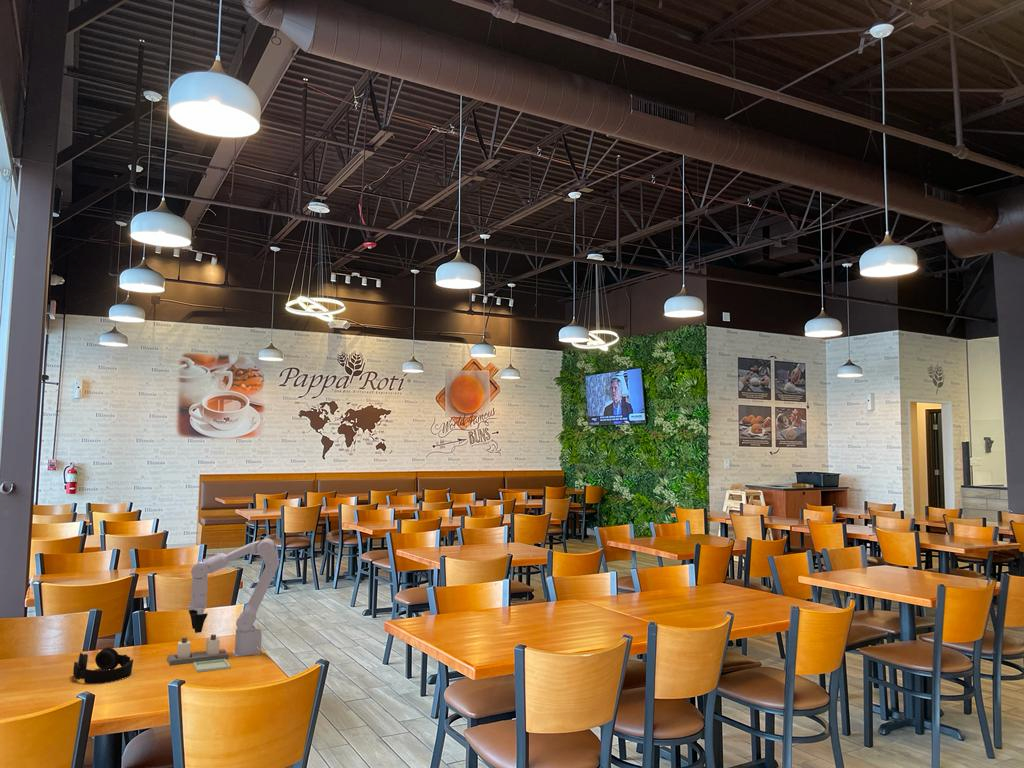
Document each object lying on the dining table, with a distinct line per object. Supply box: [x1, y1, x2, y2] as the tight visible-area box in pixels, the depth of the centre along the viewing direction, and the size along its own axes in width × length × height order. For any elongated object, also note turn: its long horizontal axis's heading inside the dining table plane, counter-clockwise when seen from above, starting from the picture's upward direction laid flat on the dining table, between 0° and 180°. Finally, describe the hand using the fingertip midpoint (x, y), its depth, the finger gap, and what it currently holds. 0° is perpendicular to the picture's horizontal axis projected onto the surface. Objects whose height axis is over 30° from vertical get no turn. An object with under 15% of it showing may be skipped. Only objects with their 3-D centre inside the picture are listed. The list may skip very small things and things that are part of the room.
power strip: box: [167, 634, 229, 666], centre depth 277 cm, size 20×9×9 cm, turn 120°
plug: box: [176, 637, 192, 659], centre depth 275 cm, size 4×4×9 cm
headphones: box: [72, 647, 134, 685], centre depth 256 cm, size 18×8×20 cm
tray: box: [192, 659, 232, 673], centre depth 267 cm, size 11×11×1 cm
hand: (196, 630), depth 284 cm, fingers open, 7 cm apart
